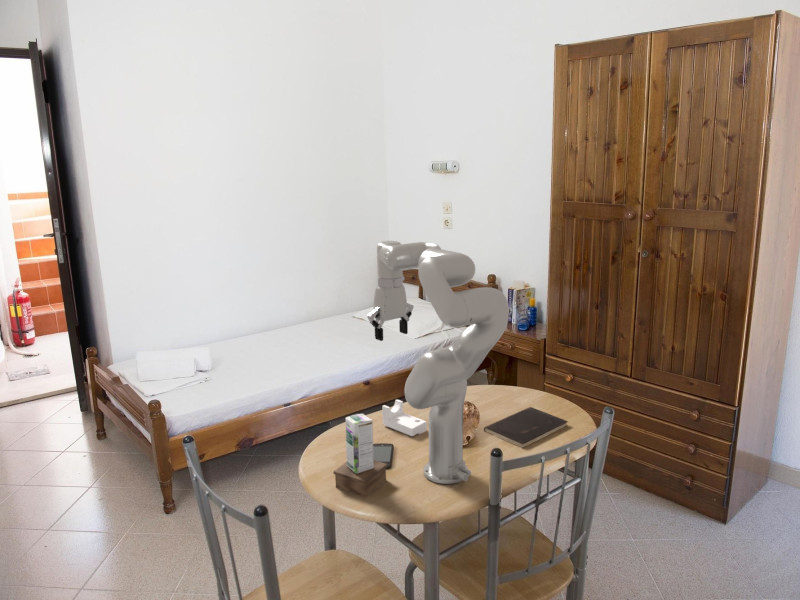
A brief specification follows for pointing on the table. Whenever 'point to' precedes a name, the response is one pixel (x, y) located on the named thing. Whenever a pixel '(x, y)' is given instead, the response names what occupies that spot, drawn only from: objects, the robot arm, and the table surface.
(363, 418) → the syrup box
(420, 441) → the table surface
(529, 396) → the table surface
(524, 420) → the hardcover book
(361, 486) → the walnut box
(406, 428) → the bracket
